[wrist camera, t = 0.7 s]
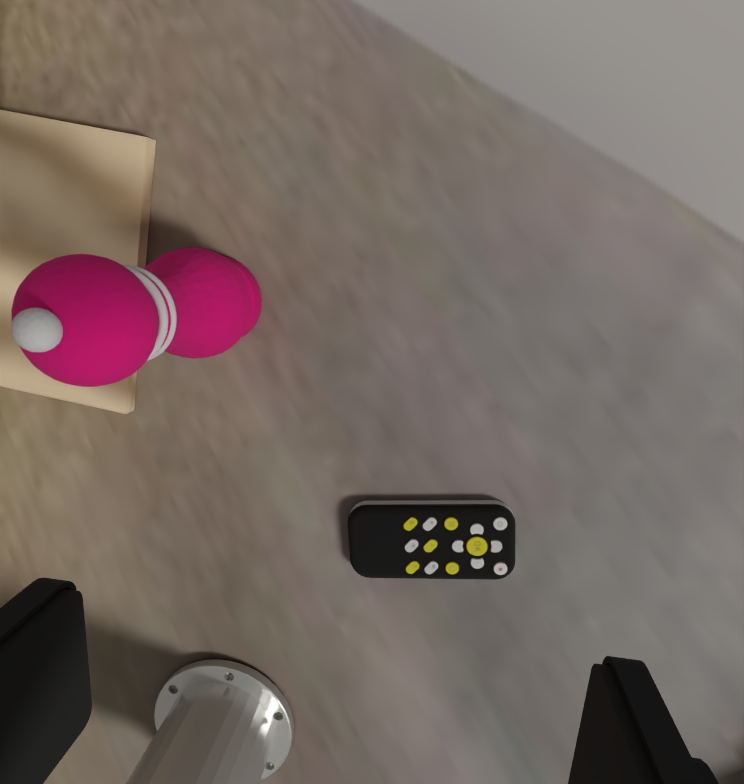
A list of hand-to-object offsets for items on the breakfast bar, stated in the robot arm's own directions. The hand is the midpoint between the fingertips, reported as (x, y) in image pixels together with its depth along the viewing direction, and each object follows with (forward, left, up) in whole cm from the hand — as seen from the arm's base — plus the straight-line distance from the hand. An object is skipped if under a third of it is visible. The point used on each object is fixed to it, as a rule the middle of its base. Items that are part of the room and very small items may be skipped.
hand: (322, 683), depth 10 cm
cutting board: (+2, +29, -31) cm, 42 cm away
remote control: (-13, -4, -32) cm, 34 cm away
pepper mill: (+2, +15, -31) cm, 34 cm away
